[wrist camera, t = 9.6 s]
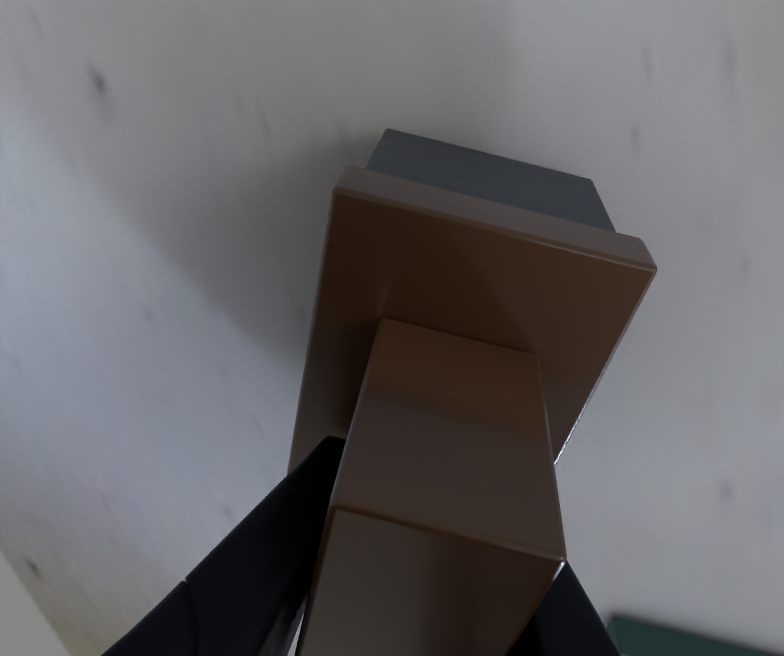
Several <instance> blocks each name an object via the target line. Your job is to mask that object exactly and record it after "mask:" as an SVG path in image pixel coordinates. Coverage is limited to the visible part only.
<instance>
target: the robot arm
mask: <svg viewBox="0 0 784 656" xmlns="http://www.w3.org/2000/svg"><path fill="white" fill-rule="evenodd" d="M345 444H346V439H342V438H338V437H334V436H327V437H325V438H324V439H323V440H322V441H321V442H320V443H319V444H318V445H317V446H316V447H315V448H314V449H313V450H312V451H311V452H310V453H309V454H308V455H307V456H306V457H305V458H304V459H303V460H302V461H301V462H300V463H299V464H298V465H297V466H296V467H295V468H294V469H293V470H292V471H291V472H290V473H289V474H288V475H287V476H286V477H285V478H284V479H283V480H282V481H281V482H280V483H279V484H278V485H277V486H276V487H275V488H274V489H273V490H272V491H271V492H270V493H269V494H268V495H267V496H266V497H265V498H264V499H263V500H262V501H261V502H260V503H259V504H258V505H257V506H256V507H255V508H254V509H253V510H252V511H251V512H250V513H249V514H248V515H247V516H246V517H245V518H244V519H243V520H242V521H241V522H240V523H239V524H238V525H237V526H236V527H235V528H234V529H233V530H232V531H231V532H230V533H229V534H228V535H227V536H226V537H225V538H224V539H223V540H222V541H221V542H220V543H219V544H218V545H217V546H216V547H215V548H214V549H213V550H212V551H211V552H210V553H209V554H208V555H207V556H206V557H205V558H204V559H203V560H202V561H201V562H200V563H199V564H198V565H197V566H196V567H195V568H194V569H193V570H192V571H191V572H190V573H189V574H188V575H187V576H186V578H185V581H181V582H180V583H179V584H178V585H177V586H176V587H175V588H174V589H173V590H172V591H171V592H170V593H169V594H168V595H167V596H166V597H165V598H164V599H163V600H162V601H161V602H160V603H159V604H158V605H157V606H156V607H155V608H154V609H153V610H151V611H150V612H149V613H148V614H147V615H146V616H145V617H144V618H143V619H142V620H141V621H140V622H139V623H138V624H137V625H136V626H135V627H134V628H132V629H131V630H130V631H129V632H128V633H127V634H126V635H124V636H123V637H122V638H121V639H120V640H118V641H117V642H116V643H115V644H114V645H113V646H111V647H110V648H109V649H108V650H107V651H106V652H104V653H103V654H102V655H101V656H287V654H288V652H289V649H290V647H291V644H292V642H293V639H294V636H295V634H296V631H297V629H298V626H299V624H300V621H301V619H302V616H303V614H304V611H305V607H306V603H307V598H308V594H309V590H310V585H311V581H312V576H313V572H314V568H315V563H316V559H317V554H318V550H319V546H320V541H321V537H322V532H323V528H324V524H325V519H326V515H327V510H328V506H329V502H330V498H331V494H332V491H333V487H334V483H335V480H336V476H337V472H338V469H339V465H340V462H341V458H342V454H343V451H344V447H345ZM508 656H622V655H621V654H620V652H619V650H618V648H617V647H616V645H615V643H614V641H613V640H612V638H611V636H610V634H609V633H608V631H607V629H606V627H605V626H604V624H603V622H602V621H601V619H600V617H599V615H598V614H597V612H596V610H595V608H594V607H593V605H592V603H591V601H590V600H589V598H588V596H587V594H586V593H585V591H584V589H583V587H582V586H581V584H580V582H579V580H578V579H577V577H576V575H575V573H574V572H573V570H572V568H571V567H570V565H569V563H568V561H567V560H566V562H565V564H564V566H563V568H562V569H561V571H560V572H559V574H558V576H557V577H556V579H555V580H554V582H553V584H552V585H551V587H550V589H549V590H548V592H547V593H546V595H545V597H544V598H543V600H542V601H541V603H540V605H539V606H538V608H537V609H536V611H535V613H534V614H533V616H532V618H531V619H530V621H529V622H528V624H527V626H526V627H525V629H524V630H523V632H522V634H521V635H520V637H519V638H518V640H517V642H516V643H515V645H514V647H513V648H512V650H511V651H510V653H509V655H508Z"/></svg>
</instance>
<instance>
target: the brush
mask: <svg viewBox="0 0 784 656" xmlns="http://www.w3.org/2000/svg"><path fill="white" fill-rule="evenodd" d="M656 272H657V266H656V264H655V262H654V260H653V259H652V257H651V255H650V253H649V251H648V249H647V248H646V246H645V244H644V242H643V241H642V240H641V239H640V238H636V237H632V236H628V235H624V234H620V233H616V231H615V229H614V227H613V225H612V222H611V220H610V218H609V216H608V214H607V212H606V210H605V207H604V205H603V203H602V201H601V199H600V197H599V195H598V192H597V190H596V188H595V186H594V184H593V182H592V180H591V179H587V178H583V177H579V176H575V175H571V174H567V173H563V172H559V171H555V170H551V169H547V168H543V167H539V166H536V165H532V164H528V163H524V162H520V161H516V160H512V159H508V158H504V157H500V156H496V155H492V154H488V153H484V152H480V151H476V150H472V149H468V148H464V147H460V146H456V145H452V144H448V143H444V142H440V141H436V140H432V139H428V138H424V137H420V136H416V135H412V134H408V133H404V132H400V131H396V130H392V129H386V130H385V132H384V134H383V136H382V138H381V140H380V141H379V143H378V145H377V147H376V149H375V151H374V153H373V155H372V156H371V158H370V160H369V162H368V164H367V166H366V168H365V169H361V168H357V167H353V166H349V167H347V168H346V169H345V171H344V172H343V174H342V175H341V177H340V179H339V180H338V182H337V184H336V185H335V187H334V188H333V190H332V196H331V202H330V208H329V214H328V221H327V227H326V233H325V239H324V246H323V252H322V258H321V265H320V271H319V277H318V283H317V290H316V296H315V302H314V308H313V315H312V321H311V327H310V333H309V340H308V346H307V352H306V358H305V365H304V371H303V377H302V383H301V390H300V396H299V402H298V408H297V415H296V421H295V427H294V433H293V440H292V446H291V452H290V458H289V465H288V471H287V475H288V474H289V473H290V472H291V471H292V470H293V469H294V468H295V467H296V466H297V465H298V464H299V463H300V462H301V461H302V460H303V459H304V458H305V457H306V456H307V455H308V454H309V453H310V452H311V451H312V450H313V449H314V448H315V447H316V446H317V445H318V444H319V443H320V442H321V441H322V440H323V439H324V438H325V437H327V436H334V437H338V438H342V439H346V444H345V447H344V451H343V454H342V458H341V462H340V465H339V469H338V472H337V476H336V480H335V483H334V487H333V491H332V494H331V498H330V502H329V506H328V510H327V515H326V519H325V524H324V528H323V532H322V537H321V541H320V546H319V550H318V554H317V559H316V563H315V568H314V572H313V576H312V581H311V585H310V590H309V594H308V598H307V603H306V607H305V612H304V616H303V620H302V625H301V629H300V634H299V638H298V642H297V647H296V651H295V656H508V655H509V653H510V651H511V650H512V648H513V647H514V645H515V643H516V642H517V640H518V638H519V637H520V635H521V634H522V632H523V630H524V629H525V627H526V626H527V624H528V622H529V621H530V619H531V618H532V616H533V614H534V613H535V611H536V609H537V608H538V606H539V605H540V603H541V601H542V600H543V598H544V597H545V595H546V593H547V592H548V590H549V589H550V587H551V585H552V584H553V582H554V580H555V579H556V577H557V576H558V574H559V572H560V571H561V569H562V568H563V566H564V564H565V562H566V559H567V556H566V547H565V540H564V533H563V525H562V518H561V511H560V503H559V496H558V489H557V482H556V474H555V465H556V463H557V461H558V459H559V457H560V456H561V454H562V452H563V450H564V448H565V446H566V444H567V442H568V440H569V438H570V436H571V435H572V433H573V431H574V429H575V427H576V425H577V423H578V421H579V419H580V417H581V416H582V414H583V412H584V410H585V408H586V406H587V404H588V402H589V400H590V398H591V396H592V395H593V393H594V391H595V389H596V387H597V385H598V383H599V381H600V379H601V377H602V375H603V374H604V372H605V370H606V368H607V366H608V364H609V362H610V360H611V358H612V356H613V355H614V353H615V351H616V349H617V347H618V345H619V343H620V341H621V339H622V337H623V335H624V334H625V332H626V330H627V328H628V326H629V324H630V322H631V320H632V318H633V316H634V314H635V313H636V311H637V309H638V307H639V305H640V303H641V301H642V299H643V297H644V295H645V294H646V292H647V290H648V288H649V286H650V284H651V282H652V280H653V278H654V276H655V274H656Z"/></svg>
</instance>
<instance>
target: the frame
mask: <svg viewBox="0 0 784 656" xmlns="http://www.w3.org/2000/svg"><path fill="white" fill-rule="evenodd" d="M606 629H607V631H608V633H609V634H610V636H611V638H612V640H613V641H614V643H615V645H616V647H617V648H618V650H619V652H620V654H621V655H622V656H768V655H764V654H760V653H756V652H752V651H748V650H744V649H740V648H736V647H732V646H728V645H724V644H720V643H716V642H712V641H708V640H704V639H700V638H696V637H692V636H688V635H684V634H680V633H676V632H672V631H668V630H664V629H660V628H656V627H651V626H647V625H643V624H639V623H635V622H631V621H627V620H623V619H619V618H613V619H612V620H611V622H610V623H609V624H608V626H607V627H606Z"/></svg>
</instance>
